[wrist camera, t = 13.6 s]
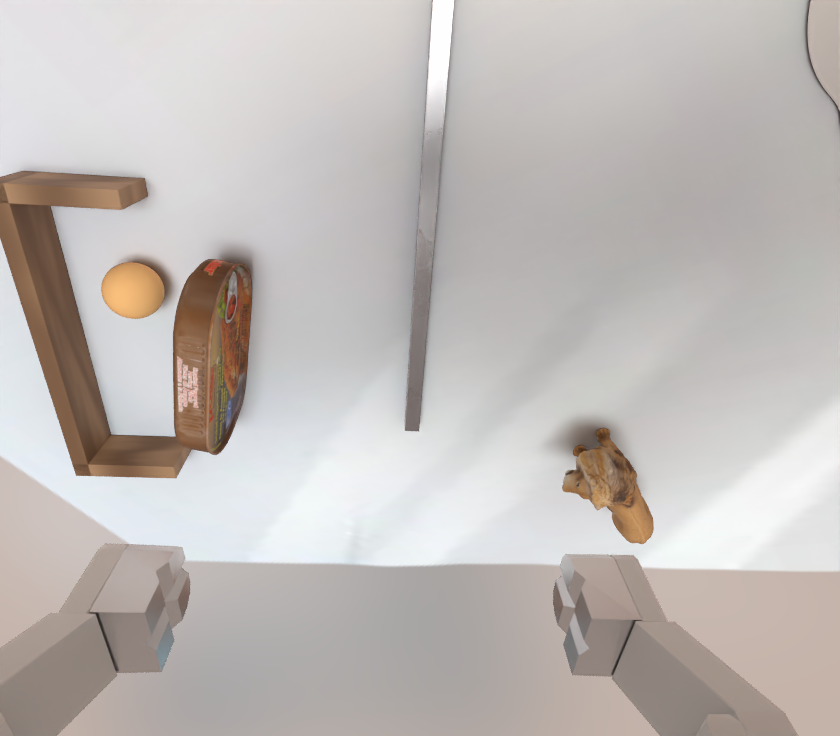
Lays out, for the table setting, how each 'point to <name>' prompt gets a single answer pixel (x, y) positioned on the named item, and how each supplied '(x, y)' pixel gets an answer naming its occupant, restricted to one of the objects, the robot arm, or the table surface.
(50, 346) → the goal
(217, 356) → the tin
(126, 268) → the ball
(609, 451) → the lion figurine
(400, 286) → the table surface
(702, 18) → the table surface
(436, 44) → the rail
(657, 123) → the table surface
